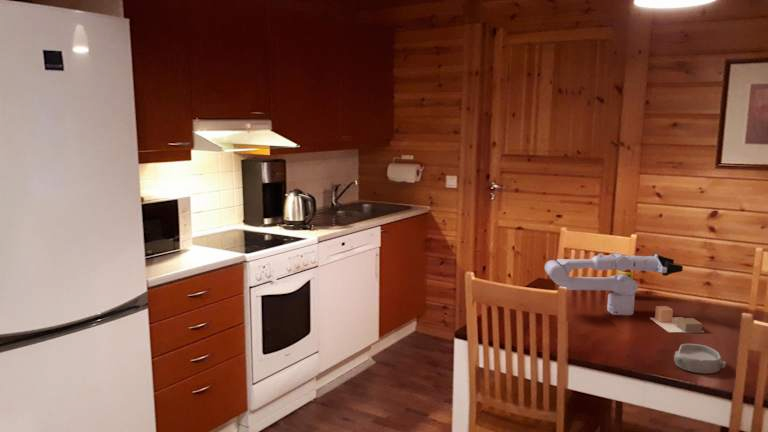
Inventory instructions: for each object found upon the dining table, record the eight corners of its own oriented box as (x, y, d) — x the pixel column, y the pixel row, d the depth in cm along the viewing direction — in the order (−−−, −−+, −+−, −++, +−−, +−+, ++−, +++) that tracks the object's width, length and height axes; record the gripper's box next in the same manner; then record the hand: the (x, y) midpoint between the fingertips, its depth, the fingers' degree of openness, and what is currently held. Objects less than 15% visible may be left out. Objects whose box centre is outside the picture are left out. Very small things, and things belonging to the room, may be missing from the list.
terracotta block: (660, 322, 221) (661, 309, 220) (654, 318, 225) (655, 306, 225) (671, 322, 221) (673, 309, 220) (666, 318, 226) (667, 305, 225)
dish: (674, 371, 182) (675, 356, 181) (670, 354, 195) (671, 340, 194) (727, 379, 177) (729, 363, 176) (719, 361, 190) (721, 346, 189)
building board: (669, 335, 211) (670, 324, 210) (649, 320, 226) (649, 310, 226) (704, 334, 211) (705, 324, 211) (682, 319, 227) (683, 310, 226)
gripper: (651, 259, 221) (688, 261, 221) (637, 248, 235) (671, 250, 235) (648, 277, 223) (684, 279, 223) (634, 264, 237) (668, 266, 237)
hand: (677, 265), depth 229 cm, fingers open, 7 cm apart
